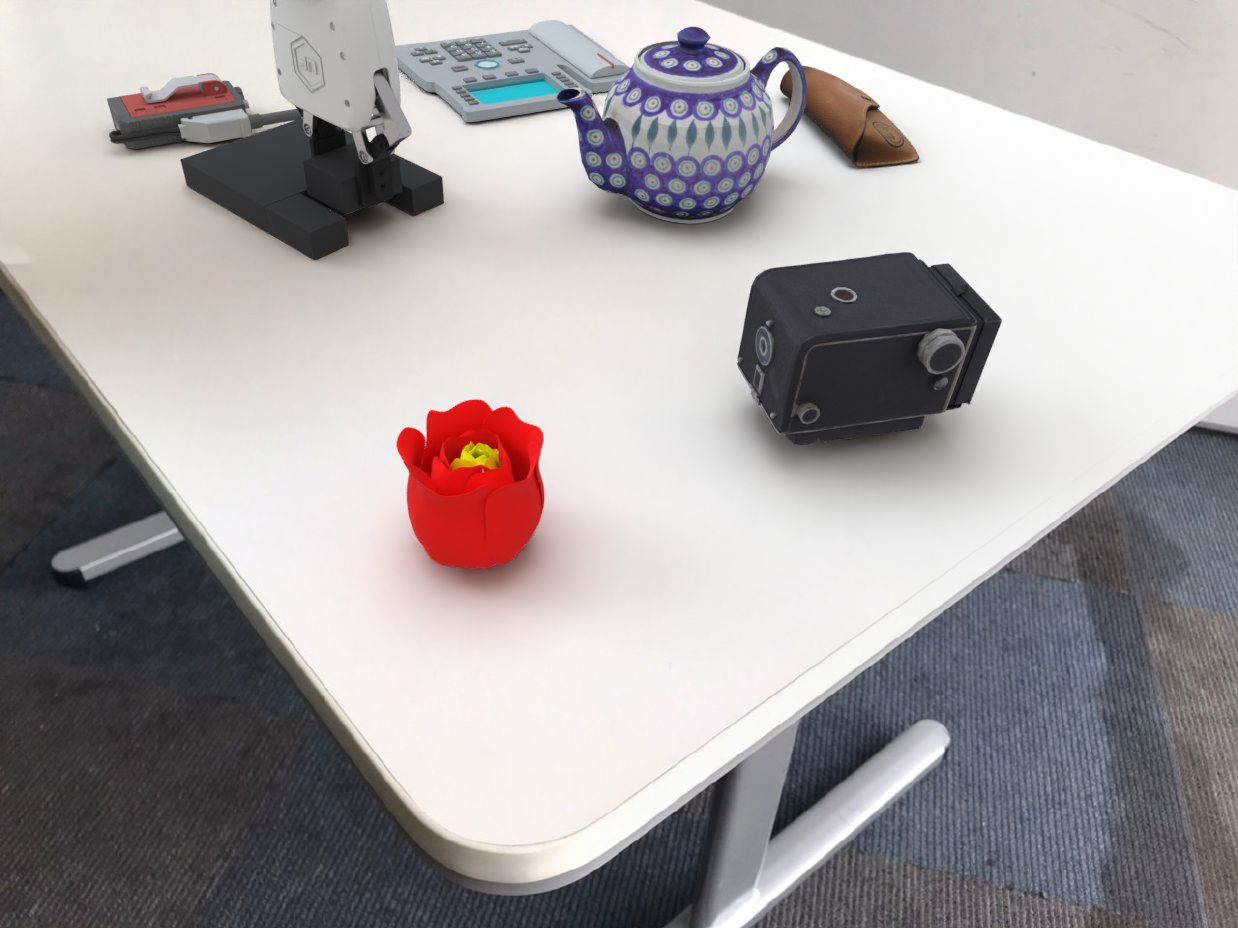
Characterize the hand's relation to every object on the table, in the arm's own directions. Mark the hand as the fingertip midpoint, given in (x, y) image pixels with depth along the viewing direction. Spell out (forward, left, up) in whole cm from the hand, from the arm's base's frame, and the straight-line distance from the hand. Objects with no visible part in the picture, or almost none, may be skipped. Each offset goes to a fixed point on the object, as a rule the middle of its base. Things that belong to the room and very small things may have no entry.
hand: (354, 188), depth 85 cm
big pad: (0, +6, -3) cm, 6 cm away
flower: (-20, -35, -3) cm, 40 cm away
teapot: (+23, -17, -3) cm, 29 cm away
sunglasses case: (+48, -20, -3) cm, 52 cm away
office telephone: (+33, +13, -3) cm, 36 cm away
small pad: (0, 0, 0) cm, 0 cm away
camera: (+5, -45, -3) cm, 45 cm away
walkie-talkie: (+2, +23, -3) cm, 24 cm away
